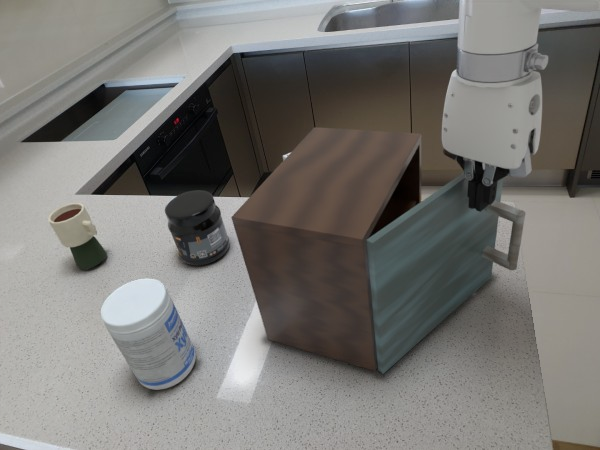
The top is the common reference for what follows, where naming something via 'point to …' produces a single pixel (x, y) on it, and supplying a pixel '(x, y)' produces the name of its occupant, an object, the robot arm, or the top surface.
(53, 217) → the character mug
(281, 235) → the cupboard
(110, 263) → the top surface
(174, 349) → the supplement tub
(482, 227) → the cupboard door
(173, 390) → the top surface
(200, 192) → the supplement container
